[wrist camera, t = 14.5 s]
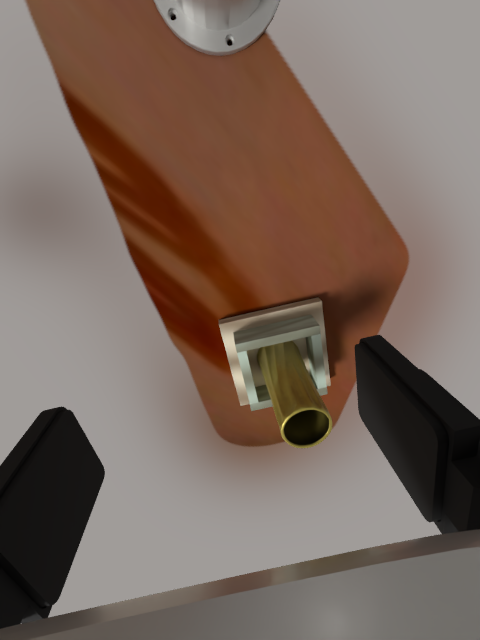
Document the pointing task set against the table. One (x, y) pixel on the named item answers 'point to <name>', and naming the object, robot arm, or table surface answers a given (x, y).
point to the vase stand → (268, 329)
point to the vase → (293, 395)
